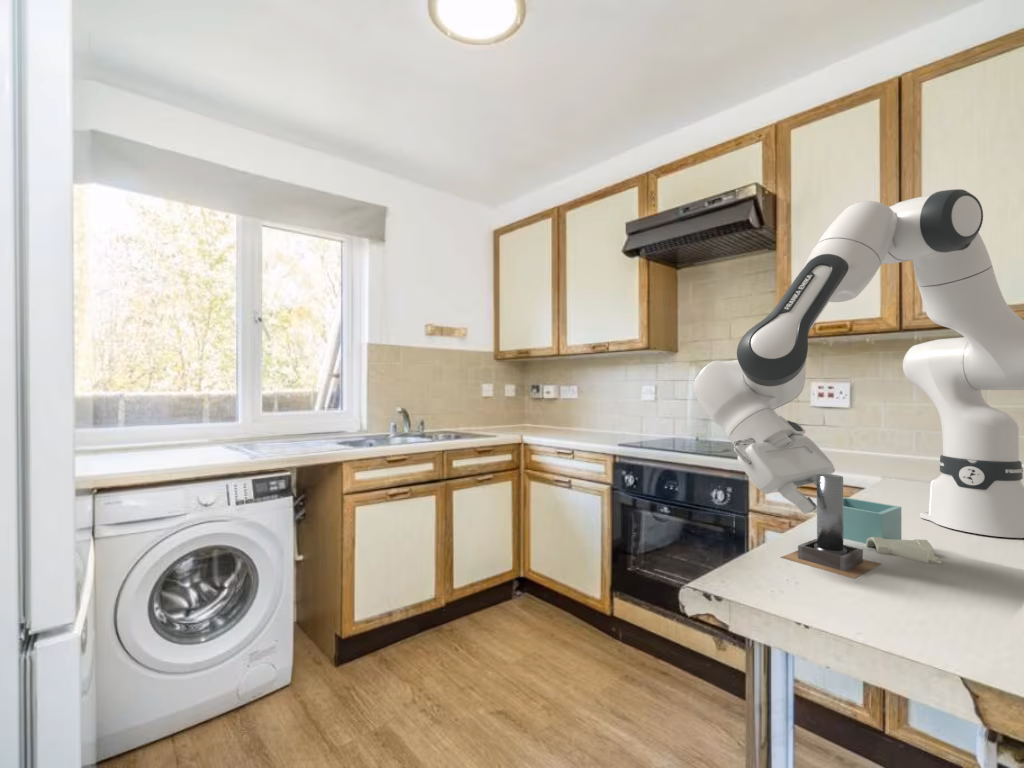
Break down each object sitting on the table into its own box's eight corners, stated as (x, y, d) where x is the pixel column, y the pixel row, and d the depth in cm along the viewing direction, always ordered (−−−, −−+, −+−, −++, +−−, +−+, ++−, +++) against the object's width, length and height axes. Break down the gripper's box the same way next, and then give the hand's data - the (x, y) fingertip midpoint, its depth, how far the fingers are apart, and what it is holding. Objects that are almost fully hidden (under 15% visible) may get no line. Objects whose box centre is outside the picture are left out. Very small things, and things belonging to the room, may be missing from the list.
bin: (842, 533, 93) (842, 496, 93) (901, 546, 85) (901, 506, 85) (821, 541, 87) (821, 503, 88) (881, 556, 80) (881, 514, 80)
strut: (821, 553, 76) (821, 472, 76) (851, 561, 73) (851, 476, 73) (808, 559, 74) (808, 475, 74) (839, 567, 71) (839, 479, 71)
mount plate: (809, 554, 80) (810, 533, 80) (881, 573, 72) (881, 550, 72) (780, 566, 75) (780, 544, 75) (854, 589, 66) (854, 564, 66)
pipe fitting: (948, 578, 72) (919, 558, 79) (950, 553, 72) (920, 535, 79) (889, 573, 74) (865, 555, 81) (890, 549, 74) (866, 532, 80)
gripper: (742, 428, 74) (810, 504, 66) (804, 423, 86) (868, 487, 78) (715, 453, 78) (777, 528, 70) (778, 446, 90) (837, 509, 82)
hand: (825, 506), depth 74 cm, fingers open, 8 cm apart
